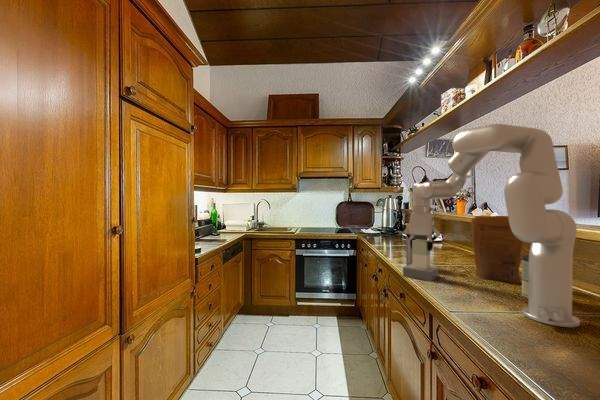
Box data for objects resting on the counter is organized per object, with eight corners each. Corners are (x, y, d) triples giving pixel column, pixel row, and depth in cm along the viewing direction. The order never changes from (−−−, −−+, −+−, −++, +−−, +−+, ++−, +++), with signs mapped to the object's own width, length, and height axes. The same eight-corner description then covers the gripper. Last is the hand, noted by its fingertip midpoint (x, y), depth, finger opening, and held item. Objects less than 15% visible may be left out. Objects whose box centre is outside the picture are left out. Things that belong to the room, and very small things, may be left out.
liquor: (428, 270, 139) (428, 209, 139) (409, 269, 141) (409, 209, 141) (423, 265, 148) (424, 209, 148) (405, 265, 150) (405, 208, 150)
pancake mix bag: (524, 285, 114) (525, 216, 114) (470, 277, 126) (470, 215, 126) (525, 282, 119) (525, 216, 119) (472, 274, 131) (473, 214, 131)
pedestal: (431, 281, 119) (431, 271, 119) (403, 276, 127) (403, 267, 127) (438, 275, 128) (438, 266, 128) (411, 271, 136) (412, 262, 136)
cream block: (426, 269, 123) (426, 255, 123) (412, 267, 127) (412, 253, 127) (430, 266, 128) (430, 253, 128) (416, 264, 132) (416, 252, 132)
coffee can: (545, 293, 104) (545, 255, 104) (567, 303, 94) (567, 261, 94) (514, 292, 106) (515, 254, 106) (533, 301, 95) (533, 260, 95)
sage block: (426, 255, 123) (426, 242, 123) (412, 253, 127) (412, 240, 127) (430, 253, 128) (430, 240, 128) (416, 252, 132) (416, 239, 132)
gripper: (444, 210, 125) (444, 250, 125) (405, 209, 136) (404, 246, 136) (440, 210, 119) (439, 253, 119) (399, 209, 130) (399, 248, 130)
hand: (421, 249), depth 128 cm, fingers open, 6 cm apart
